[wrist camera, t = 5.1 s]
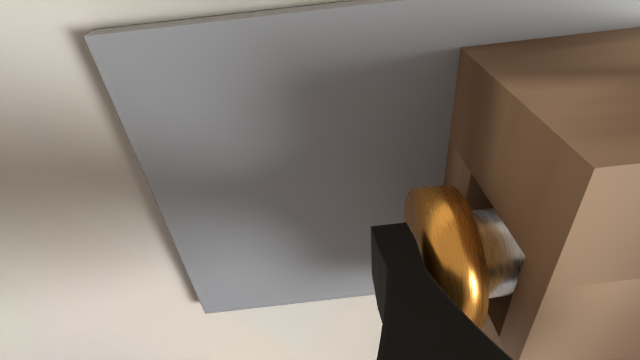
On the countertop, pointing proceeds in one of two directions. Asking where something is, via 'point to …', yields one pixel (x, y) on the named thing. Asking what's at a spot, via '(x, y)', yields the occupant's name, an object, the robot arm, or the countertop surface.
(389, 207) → the base plate
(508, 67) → the bearing block
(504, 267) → the shaft
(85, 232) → the countertop surface
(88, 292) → the countertop surface
